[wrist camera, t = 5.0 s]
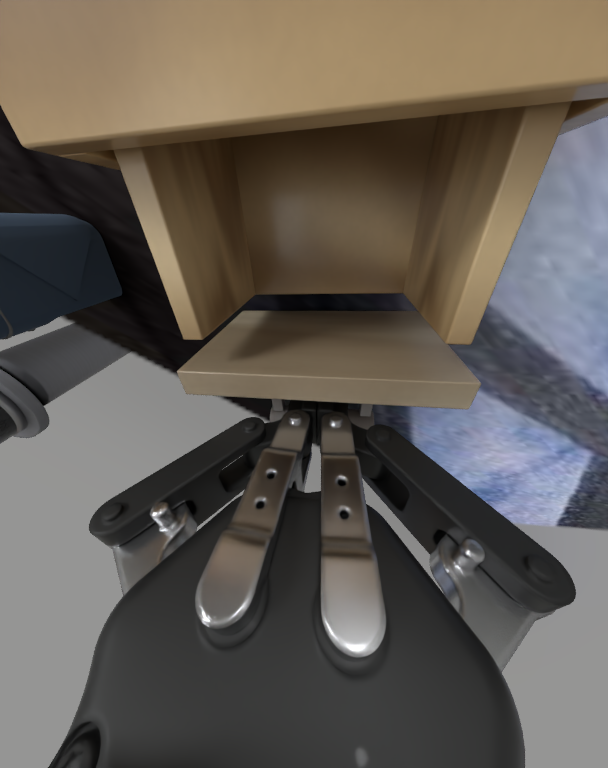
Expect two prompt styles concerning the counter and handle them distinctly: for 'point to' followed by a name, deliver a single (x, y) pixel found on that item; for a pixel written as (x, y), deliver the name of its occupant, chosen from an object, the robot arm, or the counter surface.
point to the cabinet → (284, 66)
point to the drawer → (340, 250)
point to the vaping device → (50, 270)
